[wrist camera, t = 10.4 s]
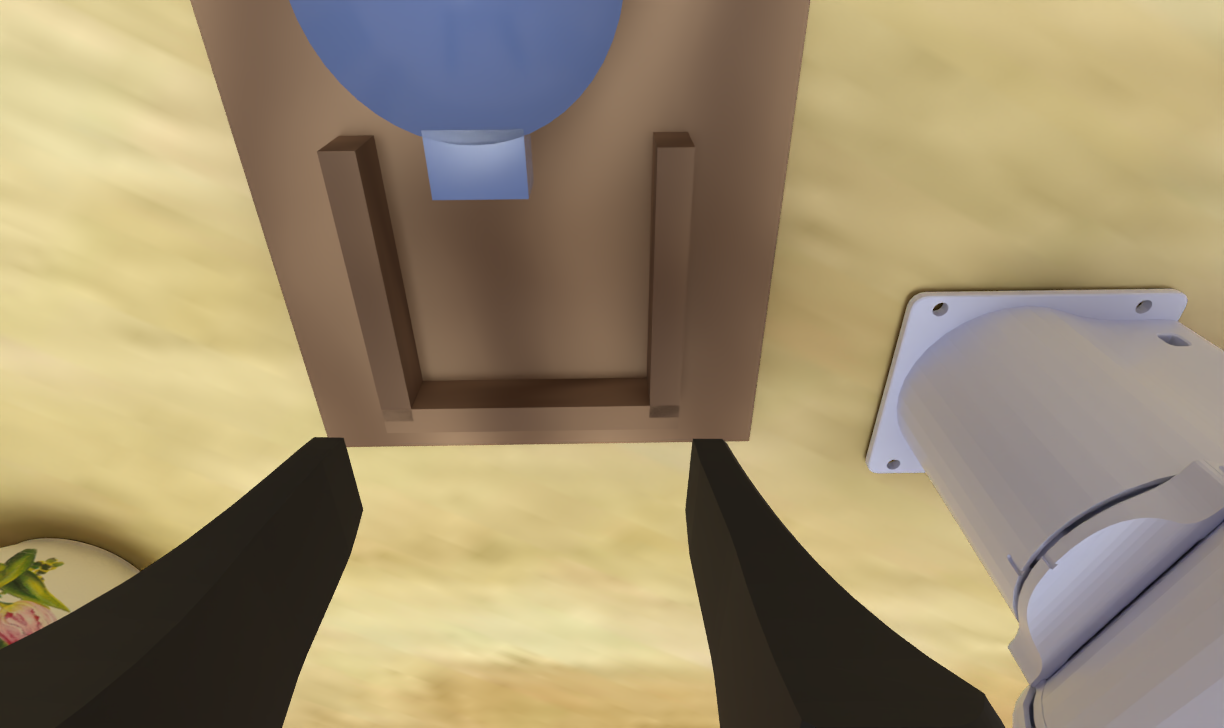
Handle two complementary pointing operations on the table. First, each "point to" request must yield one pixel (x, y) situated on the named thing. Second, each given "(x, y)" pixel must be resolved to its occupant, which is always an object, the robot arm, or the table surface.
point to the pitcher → (52, 582)
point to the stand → (529, 236)
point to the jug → (465, 76)
